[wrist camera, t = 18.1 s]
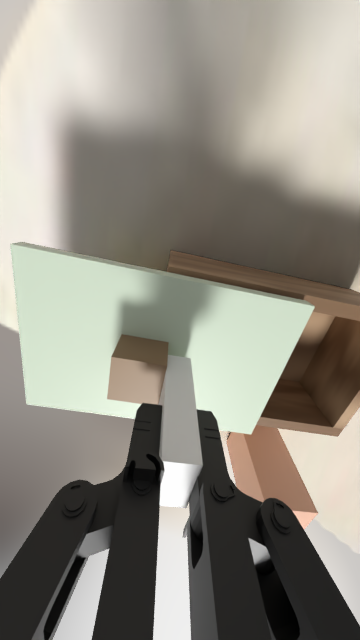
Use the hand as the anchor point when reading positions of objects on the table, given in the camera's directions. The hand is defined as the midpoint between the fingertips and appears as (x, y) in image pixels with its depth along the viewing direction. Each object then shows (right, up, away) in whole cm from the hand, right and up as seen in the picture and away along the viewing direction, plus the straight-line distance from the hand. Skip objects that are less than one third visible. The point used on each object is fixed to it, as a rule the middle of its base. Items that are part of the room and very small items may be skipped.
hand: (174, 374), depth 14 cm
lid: (-1, +1, +2) cm, 2 cm away
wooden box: (+7, +3, +9) cm, 12 cm away
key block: (+10, -12, +16) cm, 22 cm away
